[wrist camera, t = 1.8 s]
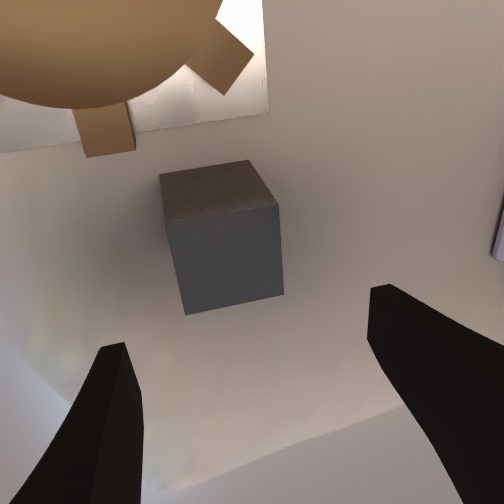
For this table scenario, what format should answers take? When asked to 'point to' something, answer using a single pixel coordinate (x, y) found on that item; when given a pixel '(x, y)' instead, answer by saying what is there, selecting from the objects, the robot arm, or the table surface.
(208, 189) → the dark grey block
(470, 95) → the table surface
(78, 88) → the sprocket
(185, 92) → the thin square base plate
